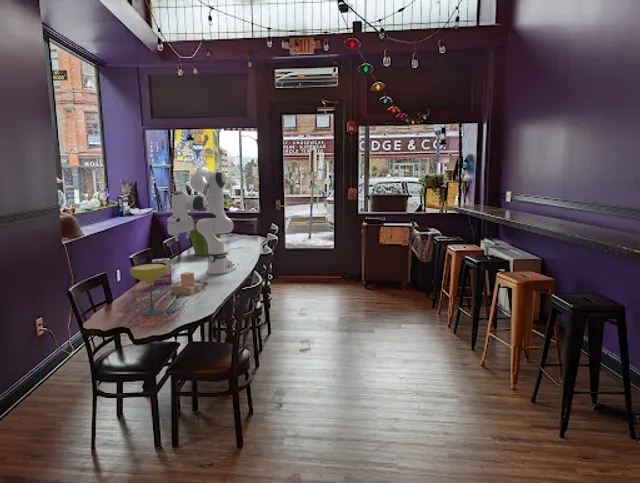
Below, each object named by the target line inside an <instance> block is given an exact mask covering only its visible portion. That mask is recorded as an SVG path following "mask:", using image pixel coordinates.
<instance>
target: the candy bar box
mask: <svg viewBox="0 0 640 483" xmlns="http://www.w3.org/2000/svg"><path fill="white" fill-rule="evenodd" d="M151 262H161V263H166V264H167V272H166V274H165V275H163V276H162V277H160V278H158V279H157V280H155V281H154V282H153V285H154V286H162V285H163V286H164V285H172V283H173V277H172V276H173V275H172V265H171V258H170V257H169V258H156V259H152V260H151Z"/></svg>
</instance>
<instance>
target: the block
mask: <svg viewBox="0 0 640 483" xmlns="http://www.w3.org/2000/svg"><path fill="white" fill-rule="evenodd" d="M179 275H180V283H181V285H183V286H190V285H193V284H194V282H195V274H194V272H189V271H186V272H182V273H180V274H179Z"/></svg>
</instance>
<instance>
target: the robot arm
mask: <svg viewBox="0 0 640 483" xmlns="http://www.w3.org/2000/svg"><path fill="white" fill-rule="evenodd" d="M226 182H227V176H226V174H225V173H224V171H220V170H217V171H212V170H211V171H210V169H209V168H207V167H205V166H202V167H199V168H198V169H197V170H195V172H194V173H193V175H192V176H191V178H190V182H189V183H190V186H191V188H192V189H193V190H194V191H196V192H199V193H200V194H194V195H193V194H190V195H189V194H186V192H185V191H184V190H176V191H174V192H172V193H171V207H172V215H171V216H169V217H168V218H167V219H166V222H167V234H168V235H169V236H173V238H174V242H179V241H180V238H179V237H178V235H179V234H183V233H186V234H185V239H190V231H191V230H194V222H193V220H194V219H193V216H191V215H189V214H188V211H189V212H190V211H193V212H194V211H196V212H203V211H204V210H205V209H207V210H208V212H209V213H211V214H212V215H215V218H211V217H210V218H209V217H208V218H206V217H205V218H202V219H198V220H199V221H198V222H197V225H196V227H197V230H198V232H199V233H201V234H202V235H203V236H204V237H205V239H206V241H207V244H208V256H207V258H208V260H207V266H206V268H207V269H206V272H207V274H208V275H210V274H211V275H221V274H229V273H231V272H232V271H235V270H236V269H237V267H236V266H234V265H233V261H232V260H231V259H229V258H228V257H227V255H229V251H225V243H224V241H223V240H222V239H221V238H220V239H219V238H217V237H216V236H215V234H220V235H222V234H228V233H231V232H232V231H233V229H234V222H233V220H232V219H231V218H229V217H228V215H227V214H226V212H225V209H224V208H225V207H224V205H225V204H224V203H225V202H224V198H225V196H224V189H223V188H224V187H225V185H226ZM206 207H207V208H206Z"/></svg>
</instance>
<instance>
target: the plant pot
mask: <svg viewBox="0 0 640 483" xmlns="http://www.w3.org/2000/svg"><path fill="white" fill-rule="evenodd" d="M192 220H193V222H194V230H191V231H190V235H189V239H190V240H191V245H192V247H193V250H194V255H195V256H201V257H202V256H203V257H204V256H205V257H206V256H207V257H208V244H207V241H206V239H205V237H204V236H203V235H202V234H201V233H199V232H198V230H197V227H196V225H197V222H198V221H199V220H200V219H192ZM215 236H216V237H217V238H219V239H221V234H215Z"/></svg>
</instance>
